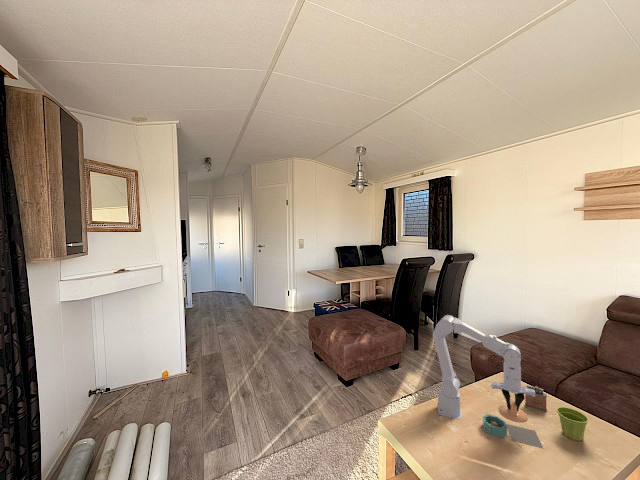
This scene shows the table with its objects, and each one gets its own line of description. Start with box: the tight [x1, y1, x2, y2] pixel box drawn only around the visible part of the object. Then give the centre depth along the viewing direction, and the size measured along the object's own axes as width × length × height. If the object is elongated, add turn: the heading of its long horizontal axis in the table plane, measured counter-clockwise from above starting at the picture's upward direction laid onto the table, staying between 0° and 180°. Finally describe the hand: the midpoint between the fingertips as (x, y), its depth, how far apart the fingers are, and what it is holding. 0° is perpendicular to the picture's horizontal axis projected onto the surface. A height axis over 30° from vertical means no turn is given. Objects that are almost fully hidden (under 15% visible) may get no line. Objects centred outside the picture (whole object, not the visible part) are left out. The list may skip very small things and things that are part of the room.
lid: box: [497, 398, 529, 424], centre depth 107 cm, size 10×10×5 cm
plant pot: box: [556, 406, 590, 442], centre depth 106 cm, size 9×9×9 cm
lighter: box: [524, 384, 548, 413], centre depth 123 cm, size 8×3×10 cm, turn 58°
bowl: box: [482, 414, 508, 438], centre depth 109 cm, size 8×8×4 cm
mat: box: [506, 423, 545, 449], centre depth 106 cm, size 10×10×1 cm
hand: (512, 409), depth 107 cm, fingers closed on lid
